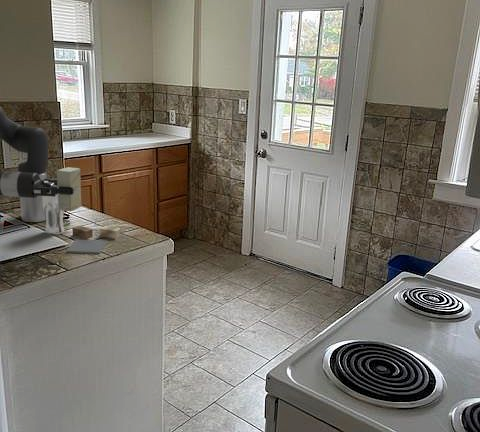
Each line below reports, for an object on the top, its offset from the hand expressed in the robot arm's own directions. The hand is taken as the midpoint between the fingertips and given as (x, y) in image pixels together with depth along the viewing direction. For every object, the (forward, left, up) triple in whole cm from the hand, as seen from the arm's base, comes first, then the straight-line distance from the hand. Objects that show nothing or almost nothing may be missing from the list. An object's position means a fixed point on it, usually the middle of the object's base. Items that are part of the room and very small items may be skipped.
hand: (76, 187), depth 145 cm
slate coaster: (-2, +2, -20) cm, 20 cm away
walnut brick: (-12, -2, -20) cm, 23 cm away
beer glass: (-15, -12, -20) cm, 28 cm away
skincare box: (0, -2, -7) cm, 7 cm away
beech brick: (-13, +7, -20) cm, 25 cm away
